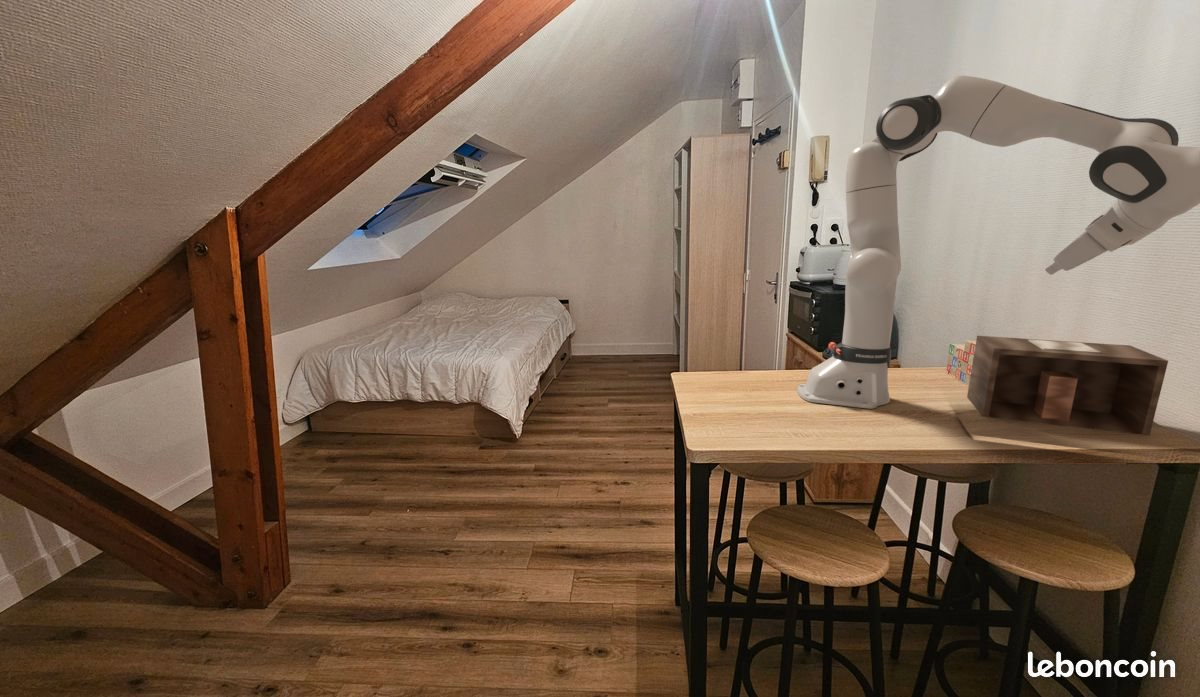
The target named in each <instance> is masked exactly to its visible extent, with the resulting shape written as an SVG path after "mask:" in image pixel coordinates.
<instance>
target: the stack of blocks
mask: <svg viewBox="0 0 1200 697" xmlns="http://www.w3.org/2000/svg"><path fill="white" fill-rule="evenodd" d="M964 342H965V343H949V348H948V356H947V357H948V359H947V365H946V371H948V373H950V374H951V375H953V376H955V377H956V378H958V379H959V380H961V381H962V382H964V383H965V385H966V384H967V385H968V386H967V385H966V386H967V387H969V382H970V376H971V370H972V364H973V358H974V351H975V345H976V340H968V339H967V340H965V341H964ZM948 373H947V374H948ZM950 374H949V375H950ZM951 375H950V376H951ZM953 376H952V377H953ZM956 378H955V379H956ZM959 380H958V381H959ZM961 381H960V382H961ZM962 382H961V383H962ZM964 383H963V384H964Z"/></svg>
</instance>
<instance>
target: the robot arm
mask: <svg viewBox="0 0 1200 697" xmlns="http://www.w3.org/2000/svg"><path fill="white" fill-rule="evenodd" d="M941 132H953V133H957V134H959V135H962V136H964V137H967V138H969V139H971V140H974V141H976V142H979V143H981V144H984V145H985V144H986V145H989V146H994V147H1000V148H1001V147H1002V148H1005V147H1010V146H1014V145H1018V144H1020V143H1023V142H1026V141H1029V140H1033V139H1040V138H1053V139H1058V140H1062V141H1065V142H1069V143H1072V144H1075V145H1077V146H1078V145H1079V146H1082V147H1085V148H1089V149H1092V150H1095V151H1097V152H1098V154H1097V155H1096V157H1095V158H1094V159H1093V160H1092V162H1091V164H1090V167H1089V170H1088V177H1089V180H1090V182H1091V183H1092V185H1093V186H1094V187H1095V188H1097V189H1098V190H1100V191H1102V192H1103V193H1105V194H1108V195H1109V196H1111V197H1113V198H1116V199H1115V200H1113V202H1110V203H1109V204H1108V205H1107V206H1104V208H1102V209H1101V210H1100V211H1098V212H1096V215H1095V217H1094V219H1093V220H1092V221H1091V223H1090V224H1088V225H1087V227H1085V228H1084V230H1085V231H1084V232H1083V233H1082V234H1080V235H1079V236H1078V237H1077V238H1075V240H1073V241H1072V242H1071V243H1070V244H1068V245H1067V246H1066V247H1065V248H1063V249H1062V250H1061V251H1060V252H1058V254H1057V255H1055V257H1054V258H1053V261H1054V262H1053V263H1052V264H1050V265H1049V266H1047V267H1046V268H1045V272H1046V273H1048V274H1049V275H1050V276H1051V275H1054V274H1056V273H1057V272H1060V271H1061V270H1063V271H1064V272H1065V271H1067V272H1068V271H1070V270H1073V269H1074V268H1077V267H1079V266H1081V265H1083V264H1085V263H1087V262H1089V261H1091V260H1093V259H1094V258H1096V257H1098V256H1101V255H1102V254H1104V253H1107V252H1113V251H1116V250H1118V249H1120V248H1122V247H1125V246H1128V245H1129V246H1131V245H1133V244H1136V243H1138V242H1139V241H1140V240H1143V239H1144V238H1145V237H1148V235H1150V234H1153V233H1154V232H1155V231H1157V230H1159V229H1160V228H1163V226H1164V225H1165V224H1166V223H1167V222H1168V221H1170V220H1171V219H1173V218H1175V217H1178V216H1181V215H1183V214H1186V213H1188V211H1190V210H1192V209H1193V208H1195V207H1197V206H1198V205H1200V146H1181V145H1179V141H1180V138H1179V133H1178V131H1177V129H1176V128H1175V126H1173V125H1172V124H1171V123H1169V122H1168V121H1166V120H1163V119H1160V118H1151V117H1150V118H1149V117H1143V118H1127V117H1126V118H1124V117H1117V116H1113V115H1111V114H1110V115H1109V114H1106V113H1102V112H1099V111H1095V110H1092V109H1088V108H1084V107H1081V106H1077V105H1073V104H1069V103H1065V102H1060V101H1056V100H1053V99H1050V98H1045V97H1043V96H1039V95H1036V94H1033V93H1031V92H1028V91H1025V90H1022V89H1020V88H1017V87H1015V86H1011V85H1007V84H1004V83H1001V82H998V81H995V80H991V79H989V78H982V77H977V76H969V75H958V76H954V77H952V78H950V79H949V80H947V81H946V82H945V83H944V84H943V85H942V86H941V87H939V90H937V92H936V93H935V95H934V96H933V95H930V94H926V95H920V96H913V97H912V96H911V97H906V98H903V99H897V100H896V101H894V102H892V103H891V104H889V105H887V106H886V107H885V108H884V109H883V111H882V112H881V113H880V115H879V117H878V118H877V121H876V125H875V134H876V138H874V139H873V140H871V141H867V142H863V143H861V144H859V145H858V146H856V147H855V148H853V149H852V150H851V151H850V153H849V155H848V159H847V165H846V173H845V199H846V200H845V201H846V202H845V203H846V204H845V205H846V221H847V222H846V223H847V231H848V236H849V243H850V252H851V258H850V260H849V261H848V263H847V266H846V273H845V287H844V288H845V291H844V292H845V293H844V301H845V302H844V304H845V305H844V320H843V330H842V339H841V342H839V343H838V344H837V343H836V342H833V341H830V342H829V343H828V346H827V347H828V348H829V349H830V351H832V356H831V357H829V358H828V359H825V360H824V361H822V362H821V363H819V364H818V365H815V366H813V367H812V368H811V369H810V370H809V373H808V376H807V378H806V383H800V384H799V385H798V386H797V389H796V391H797V392H796V393H797V394H798V396H799V397H800V398H801V399H803V400H805V401H807V402H810V403H814V404H815V403H816V404H827V405H835V406H841V407H842V406H843V407H853V408H862V409H871V410H872V409H873V410H874V409H876V408H878V406H883V405H887V404H889V403H890V402H891V397H890V393H889V381H888V380H889V378H888V372H889V368H890V363H891V359H892V346H891V338H892V332H893V331H892V330H893V324H894V311H895V302H896V300H895V299H896V290H897V282H898V278H899V277H898V276H899V275H900V273H901V267H902V263H901V262H902V261H901V260H902V259H901V245H900V230H899V216H898V215H899V214H898V213H899V212H898V186H897V185H898V184H897V182H898V181H897V168H898V164H899V162H902V161H904V160H907V159H908V158H911V157H913V156H915V155H918V154H919V153H921V152H923V151H925V150H926V149H927V148H928V147H930V146H931V144H933V142H935V140H936V138H937V136H938V133H941Z"/></svg>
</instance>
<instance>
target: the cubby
mask: <svg viewBox="0 0 1200 697" xmlns="http://www.w3.org/2000/svg"><path fill="white" fill-rule="evenodd" d="M975 341H976V345H975V351H974V358H973V364H972V370H971V376H970V382H969V386H968V387H967V388H968V389H967V390H968V391H967V395H966V398H967V399H968V401H969V402H970V403H971V405H973V407H974V408H975V409H976V410H977V411H978V413H979V414H980V415H981V417H983V418H984V417H985V418H990V419H991V418H992V419H993V418H994V419H999V420H1000V419H1002V420H1008V421H1009V420H1010V421H1019V422H1027V423H1036V424H1037V423H1038V424H1045V425H1056V426H1064V427H1072V428H1080V429H1089V430H1100V431H1107V432H1116V433H1125V434H1126V433H1127V434H1133V435H1142V436H1150V435H1151V431H1152V428H1153V424H1154V418H1155V416H1156V412H1157V407H1158V404H1159V400H1160V396H1161V391H1162V388H1163V384H1164V380H1165V376H1166V372H1167V368H1168V364H1169V360H1167V359H1165V358H1162V357H1160V356H1157V355H1154V354H1152V353H1150V352H1147V351H1146V350H1143V349H1140V348H1137V347H1134V346H1133V345H1130V344H1129V345H1126V344H1112V343H1110V344H1109V343H1099V342H1098V343H1097V342H1095V343H1094V342H1083V341H1082V342H1081V341H1080V342H1079V341H1069V340H1068V341H1067V340H1049V339H1036V338H1035V339H1033V338H1023V337H1022V338H1019V337H1017V338H1016V337H1006V336H988V335H977V336H976V339H975ZM1042 371H1053V372H1066V373H1070V374H1072V375H1073V376H1075V377H1076V378H1078V381H1077V385H1076V390H1075V395H1074V399H1073V404H1072V409H1071V413H1070V418H1069V421H1066V420H1057V419H1047V418H1041V417H1040V416H1039V415H1038V414H1037V413H1036V412H1034V408H1035V403H1036V398H1037V393H1038V387H1039V382H1040V377H1041V372H1042Z"/></svg>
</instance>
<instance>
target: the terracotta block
mask: <svg viewBox="0 0 1200 697" xmlns="http://www.w3.org/2000/svg"><path fill="white" fill-rule="evenodd" d="M1077 381H1078V378H1076V377H1075V376H1073V375H1072V374H1070V373H1066V372H1053V371H1042V372H1041V377H1040V382H1039V387H1038V393H1037V398H1036V403H1035V408H1034V412H1036V413H1037V414H1038V415H1039V416H1040V417H1041V418H1047V419H1057V420H1066V421H1069V418H1070V413H1071V409H1072V404H1073V399H1074V395H1075V390H1076V385H1077Z"/></svg>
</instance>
